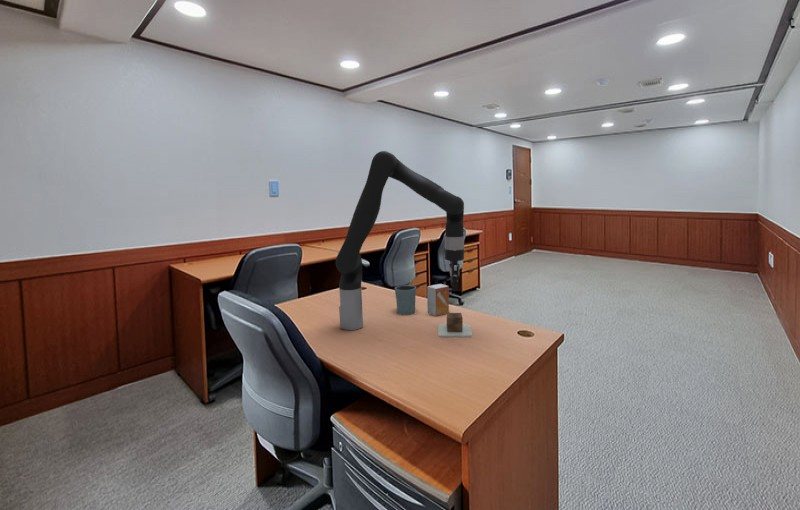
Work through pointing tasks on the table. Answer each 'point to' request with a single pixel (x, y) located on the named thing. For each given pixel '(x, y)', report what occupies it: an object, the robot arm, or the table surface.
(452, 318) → the cube
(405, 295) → the grey cup
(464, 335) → the pad
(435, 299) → the small box
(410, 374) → the table surface
